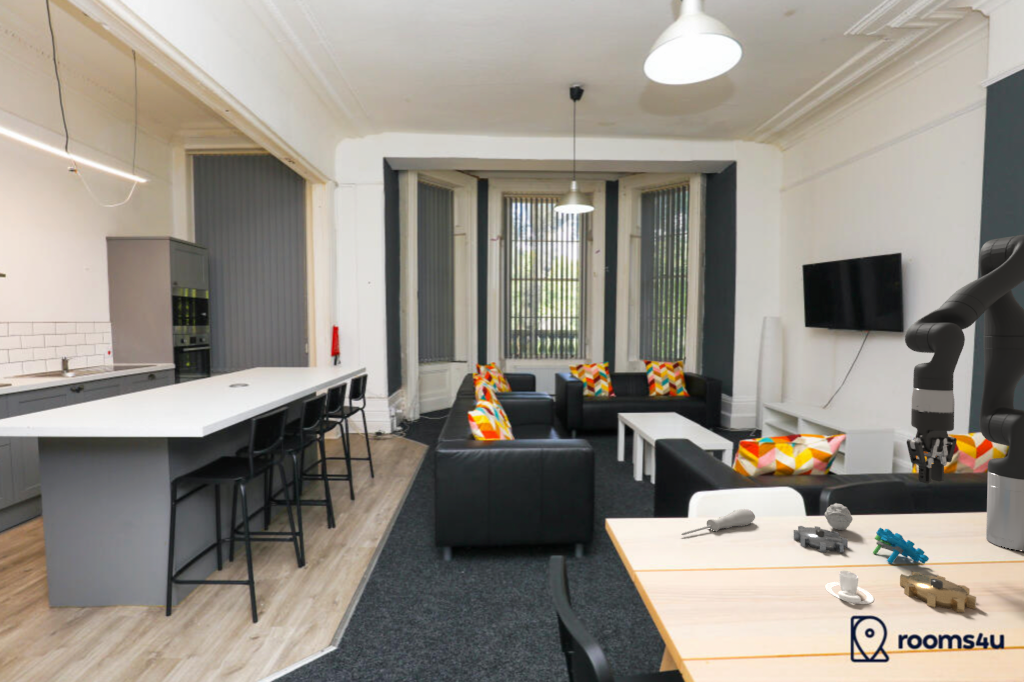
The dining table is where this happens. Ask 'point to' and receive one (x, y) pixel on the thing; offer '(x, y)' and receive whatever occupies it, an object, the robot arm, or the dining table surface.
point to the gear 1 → (820, 539)
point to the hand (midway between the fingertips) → (931, 481)
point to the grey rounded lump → (838, 516)
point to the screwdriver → (728, 520)
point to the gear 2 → (898, 546)
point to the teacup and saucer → (849, 588)
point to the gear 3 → (937, 591)
